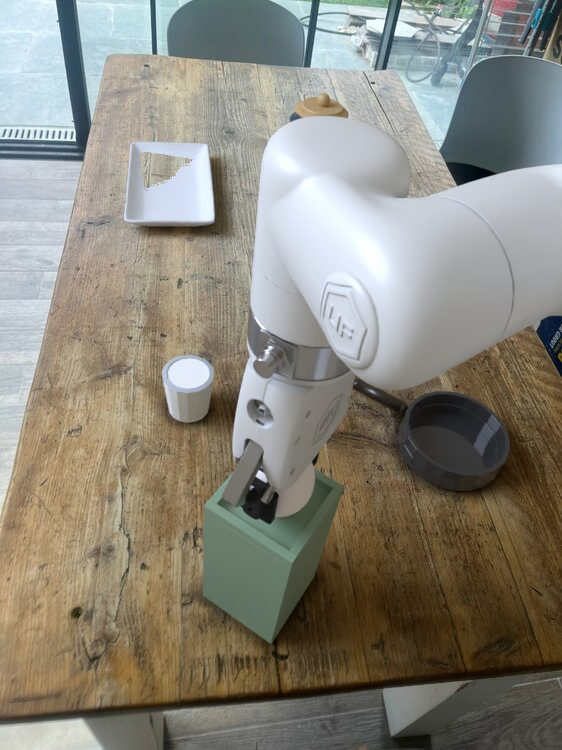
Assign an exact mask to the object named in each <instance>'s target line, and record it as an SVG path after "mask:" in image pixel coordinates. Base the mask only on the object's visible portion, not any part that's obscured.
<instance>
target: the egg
mask: <svg viewBox="0 0 562 750" xmlns="http://www.w3.org/2000/svg"><path fill="white" fill-rule="evenodd" d="M314 469H315V466H313V463H312V462H311V463H310V464H309V466H308V467H307V468H306V470H305V471H304V472H303V473H302V475H301V476H300V477H299V478H298V480H297V481H296V482H295V483H294V484H293V485H292V486H291V487H289V488H287V489H284V490H279V489H277V488H276V492H277V493H278V495H279V498H278V503H277V508H276V514H275V517H286V516H290V515H292V514H295V513H296V512H298V511H299V510H301V509H302V508H303V507H304V506H305V505H306V504H307V502H308V500H309V499H310V497H311V495H312V492H313V488H314V483H315V472H314ZM256 477H257V478H259V479H261V480H262V481H264V482H265V483H267V478H266V476H265V473H263V472H261V471H260V470H259V471H258V473H257V475H256Z"/></svg>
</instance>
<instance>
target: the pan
mask: <svg viewBox="0 0 562 750" xmlns="http://www.w3.org/2000/svg"><path fill="white" fill-rule="evenodd" d="M397 434H398V435H397V444H398V447H399V451H400V454H401V456H402V457H403V459H404V460H405V462H406V463H407V466H408V467H409V468H411V469H412V470H413V471H414V472H415V473H416V474H417V475H418V476H419V477H421V478H422V479H424V480H426V481H427V482H429V483H430V484H431V485H432V484H433V485H434V486H436V487H439V488H443V489H447V490H449V491H452V492H453V491H454V492H471V491H475V490H477V489H481V488H484V487H486V486H487V485H488V484H489V483H491V482H492V481H493V480H494V479H495V478H496V477H497V475H498V473H499V472H500V470H501V469H502V467H503V466H504V464H505V463H506V461H507V460H508V457H509V454H510V452H511V446H510V445H511V443H510V436H509V433H508V431H507V429H506V426H505V424H504V423H503V421H502V420H501V419H500V418H499V416H498V415H497V414H496V413H495V412H494V411H493V410H491V408H489V407H488V406H486V405H485V404H484V403H483V402H481V401H479V400H477V399H475V398H473V397H471V396H469V395H467V394H463V393H459V392H455V391H449V390H448V391H447V390H445V391H444V390H435V391H431V392H427V393H424V394H421V395H420V396H418V397H417V398H415V399H414V400H412V401H411V403H410V404H409V405H408V409H407V410H406V412H405V413H404V414H403V418H402V419H401V422H400V425H399V428H398V433H397Z"/></svg>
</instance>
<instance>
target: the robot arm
mask: <svg viewBox="0 0 562 750" xmlns="http://www.w3.org/2000/svg"><path fill="white" fill-rule="evenodd" d="M411 179H412V167H411V163H410V159H409V156H408V154H407V151H406V150H405V148H404V147H403V146H402V145H401V144H400V142H399V141H398V140H397V139H396V138H395V137H394V136H393V135H391V134H390V133H388V132H387V131H385V130H383V129H382V128H380V127H378V126H376V125H374V124H370V123H367V122H364V121H361V120H359V119H354V118H349V117H348V118H343V117H336V116H313V117H305V118H300V119H297V120H294V121H292V122H290V121H289V122H288V123H286V124H284V125H282V126H281V127H279V128H278V129H277V130H276V131H275V132H274V133H273V134H272V135H271V137H269V140H268V142H267V143H266V145H265V148H264V150H263V154H262V159H261V165H260V175H259V188H258V197H257V211H256V221H255V222H256V223H255V234H254V245H253V256H252V271H251V282H250V283H251V284H250V296H249V298H250V299H249V305H248V307H249V308H248V317H247V318H248V319H247V329H246V330H247V332H246V348H247V351H248V355H249V357H248V359H247V362H246V364H245V370H244V373H243V377H242V381H241V386H240V391H239V395H238V399H237V404H236V411H235V416H234V417H235V418H234V422H233V430H232V456H233V457H232V458H233V460H234V463H235V464H237V465H236V466H235V469H234V470H233V471H232V473H233V474H232V473H231V474H232V476H231V478H230V480H229V482H228V484H227V486H226V488H225V490H224V492H223V494H222V499H224V500H225V501H227V502H229V503H230V504H232V505H233V506H235V507H239V506H241V507H242V509H243V511H244V512H245V513H246V514H247V515H248V516H250V517H251V518H253V519H255V520H258V519H261V520H262V521H264V522H265V523H267V524H271V523H272V522H273V520H274V519H275V514H276V508H277V503H278V498H279V495H278V493H277V492H276V488H277V489H279V490H284V489H287V488H289V487H291V486H292V485H293V484H294V483H295V482H296V481H297V480H298V478H299V477H300V476H301V475H302V473H303V472H304V471H305V470H306V468H307V467H308V466H309V464H310V463H311V462H312V463H313V466H314V467H315V466H316V464H317V463H318V459H319V457H320V452H321V450H322V449H323V447H324V446H325V445H326V443H328V441H329V440H330V439H331V438H332V435H333V434H334V432H335V431H336V430H337V429H338V427H339V426H340V424H341V423H342V421H343V419H344V418H345V416H346V414H347V411H348V408H349V404H350V401H351V396H352V392H353V383H354V379H356V377H357V378H359V379H362V380H363V381H365V382H366V383H368V384H370V385H372V386H374V387H376V388H379V389H381V390H383V391H404V390H408V389H412V388H415V387H418V386H420V385H422V384H425V383H427V382H429V381H431V380H433V379H435V378H436V377H438V376H441V375H443V374H444V373H446V372H449V371H450V370H452V369H453V368H455V367H457V366H459V365H461V364H463V363H465V362H466V361H468V360H470V359H472V358H474V357H475V356H478V355H480V354H481V353H483V352H485V351H486V350H488V349H490V348H492V347H494V346H495V345H498V344H499V343H501V342H503V341H505V340H506V339H508V338H510V337H512V336H513V335H516V334H517V333H519V332H521V331H523V330H525V329H526V328H529V327H531V326H533V325H534V324H537V323H539V322H540V321H542V320H544V319H546V318H548V317H562V163H556V164H546V165H537V166H529V167H523V168H518V169H513V170H508V171H505V172H504V171H503V172H500V173H496V174H493V175H490V176H489V175H488V176H486V177H482V178H479V179H476V180H473V181H469V182H466V183H463V184H460V185H457V186H453V187H451V188H449V189H445V190H442V191H439V192H436V193H433V194H429V195H427V196H423V197H422V196H421V197H408V195H409V191H410V185H411ZM259 470H260V471H261V472H263V473H265V476H266V478H267V483H265V482H264V481H262V480H261V479H259V478H257V477H256V475H257V473H258V471H259Z"/></svg>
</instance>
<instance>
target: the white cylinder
mask: <svg viewBox="0 0 562 750" xmlns="http://www.w3.org/2000/svg"><path fill="white" fill-rule="evenodd" d="M161 377H162V382H163V388H164V393H165V398H166V403H167V409H168V413H169V414H170V415H171V417H172V418H173V419H175V420H176V421H179V422H182V423H186V424H187V423H188V424H189V423H195V422H198V421H200V420H202V419H204V418H205V416H207V414H208V412H209V409H210V405H211V397H212V393H213V392H212V391H213V386H214V380H215V370H214V367H213V366H212V364H211V363H210V362H209V361H208V360H207V359H205V358H203V357H201V356H199V355H193V354H183V355H178V356H176V357H174V358H172V359H169V360H168V361H167V363H165V365H164V366H163V368H162V371H161Z"/></svg>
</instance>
